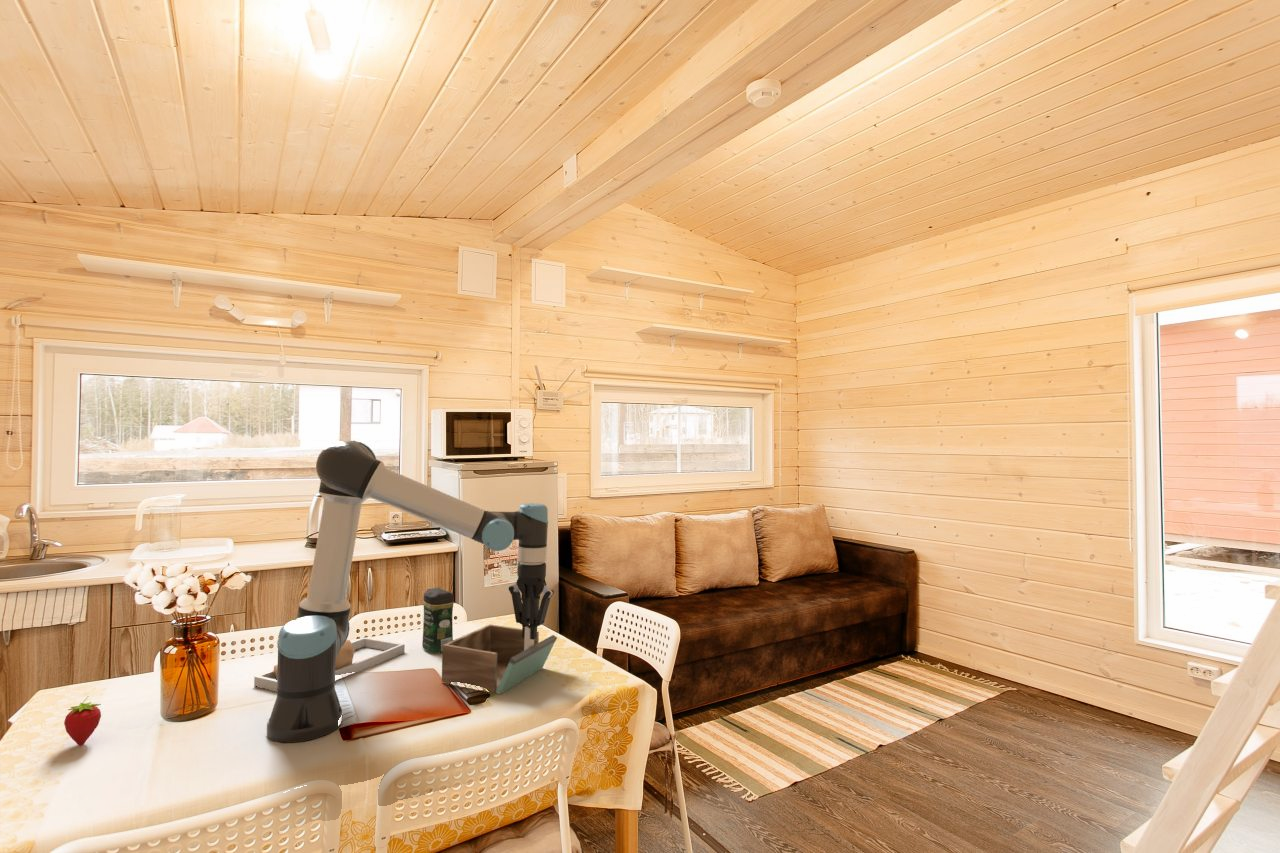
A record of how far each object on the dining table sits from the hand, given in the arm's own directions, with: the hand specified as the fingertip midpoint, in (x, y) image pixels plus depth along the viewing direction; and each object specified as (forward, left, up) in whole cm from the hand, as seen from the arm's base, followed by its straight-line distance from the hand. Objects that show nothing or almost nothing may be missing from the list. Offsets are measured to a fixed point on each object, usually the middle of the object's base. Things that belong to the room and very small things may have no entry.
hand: (528, 650), depth 173 cm
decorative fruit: (-67, +67, -9) cm, 95 cm away
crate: (0, +11, -9) cm, 14 cm away
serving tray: (-12, +56, -9) cm, 58 cm away
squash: (-18, +56, -9) cm, 60 cm away
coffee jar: (+13, +41, -10) cm, 44 cm away
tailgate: (0, +2, -8) cm, 8 cm away
